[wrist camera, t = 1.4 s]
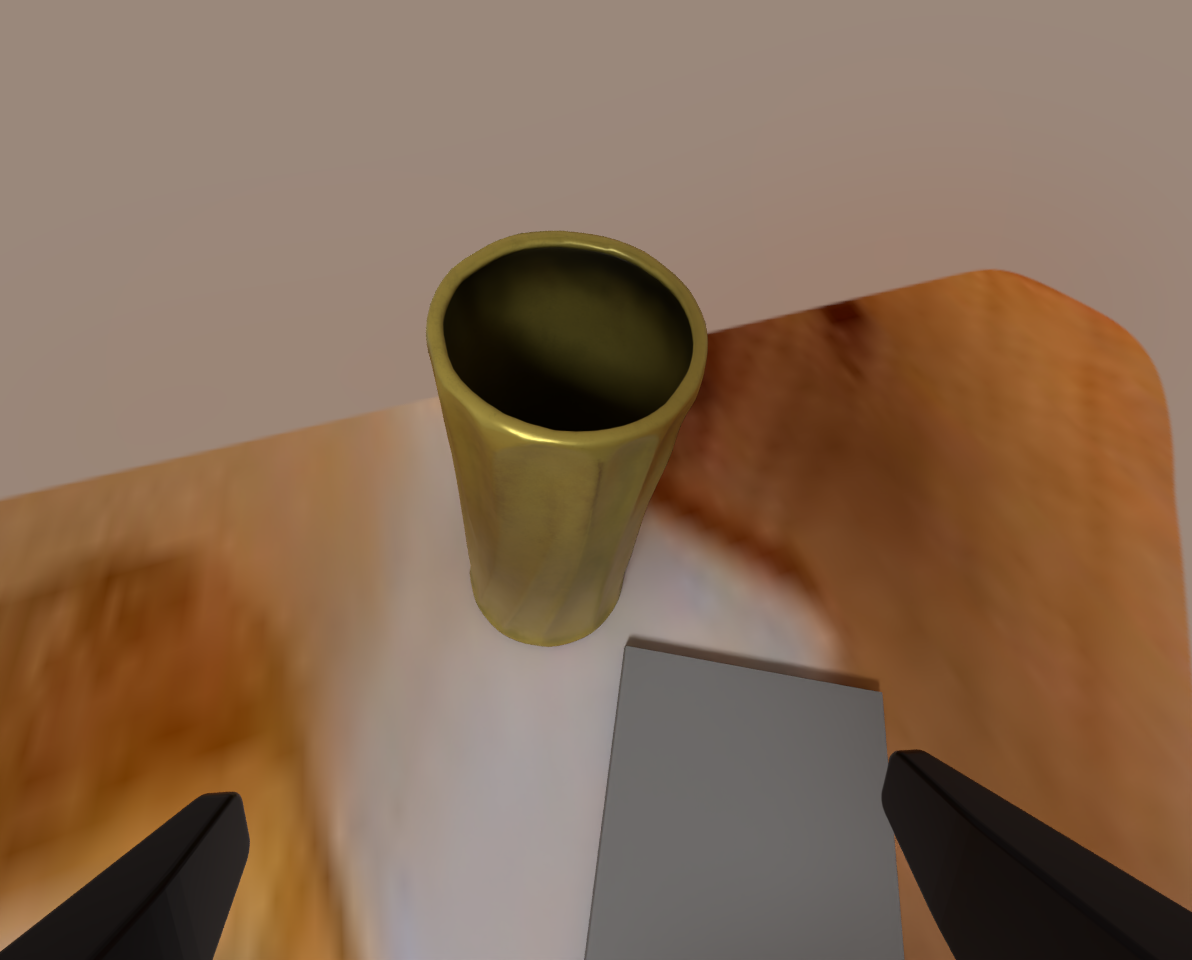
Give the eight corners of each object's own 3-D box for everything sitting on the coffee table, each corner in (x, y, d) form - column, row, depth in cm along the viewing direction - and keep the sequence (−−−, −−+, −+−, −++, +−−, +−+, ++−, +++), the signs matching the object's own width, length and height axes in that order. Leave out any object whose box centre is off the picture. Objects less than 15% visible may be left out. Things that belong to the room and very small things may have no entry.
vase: (460, 518, 24) (383, 224, 11) (601, 491, 25) (676, 202, 12) (484, 665, 21) (420, 501, 8) (640, 627, 22) (786, 436, 10)
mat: (912, 1177, 16) (923, 1188, 15) (563, 1120, 16) (564, 1130, 15) (874, 694, 22) (881, 692, 22) (624, 648, 22) (626, 645, 21)
